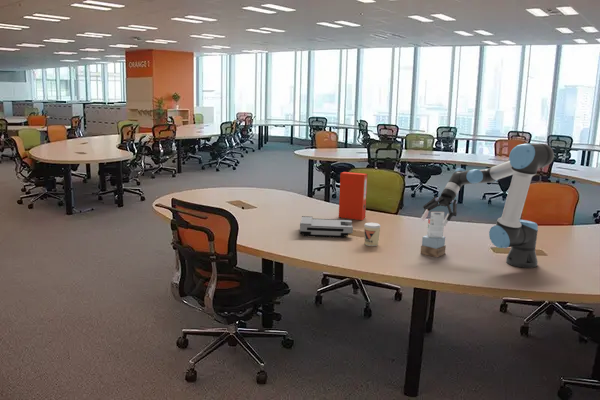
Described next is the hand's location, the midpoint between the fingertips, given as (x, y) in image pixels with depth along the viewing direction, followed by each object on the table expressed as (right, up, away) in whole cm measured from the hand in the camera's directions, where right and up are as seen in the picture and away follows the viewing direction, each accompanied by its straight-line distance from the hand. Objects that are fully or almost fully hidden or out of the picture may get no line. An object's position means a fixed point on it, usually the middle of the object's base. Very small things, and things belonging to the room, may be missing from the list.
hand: (432, 222), depth 282 cm
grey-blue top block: (+1, -13, +4) cm, 14 cm away
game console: (-56, -9, +43) cm, 71 cm away
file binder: (-35, -1, +86) cm, 93 cm away
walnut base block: (+1, -18, +5) cm, 19 cm away
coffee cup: (-31, -14, +21) cm, 39 cm away
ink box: (+2, -8, +3) cm, 9 cm away
